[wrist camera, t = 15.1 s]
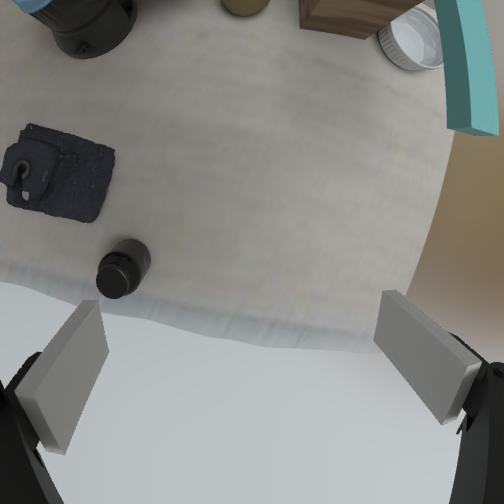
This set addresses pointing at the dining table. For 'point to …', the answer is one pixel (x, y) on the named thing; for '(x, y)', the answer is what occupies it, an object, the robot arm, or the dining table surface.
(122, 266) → the supplement bottle
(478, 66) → the peg
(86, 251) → the dining table surface
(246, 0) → the squeeze bottle
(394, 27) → the ramekin
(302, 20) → the post
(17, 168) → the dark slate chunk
